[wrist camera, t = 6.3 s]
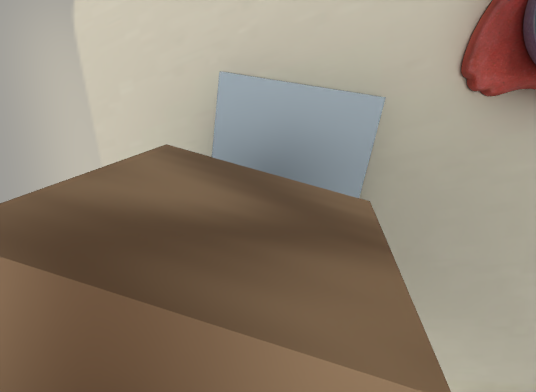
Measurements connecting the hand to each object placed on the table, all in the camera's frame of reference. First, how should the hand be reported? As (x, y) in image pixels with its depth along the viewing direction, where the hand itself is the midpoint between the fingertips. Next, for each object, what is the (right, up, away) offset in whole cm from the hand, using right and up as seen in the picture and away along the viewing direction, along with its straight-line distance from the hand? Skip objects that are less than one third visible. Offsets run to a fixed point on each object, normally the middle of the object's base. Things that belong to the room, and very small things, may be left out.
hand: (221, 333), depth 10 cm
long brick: (0, 0, +1) cm, 1 cm away
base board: (+3, +6, +16) cm, 18 cm away
